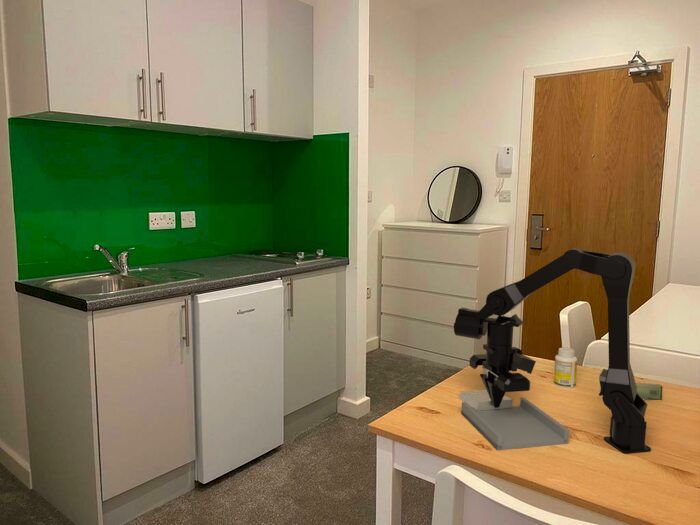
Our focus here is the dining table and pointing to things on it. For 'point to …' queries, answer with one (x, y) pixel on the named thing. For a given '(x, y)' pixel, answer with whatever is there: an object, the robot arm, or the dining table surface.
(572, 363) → the supplement bottle
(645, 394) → the medication box
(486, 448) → the dining table surface
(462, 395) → the cover plate
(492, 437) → the slide box
